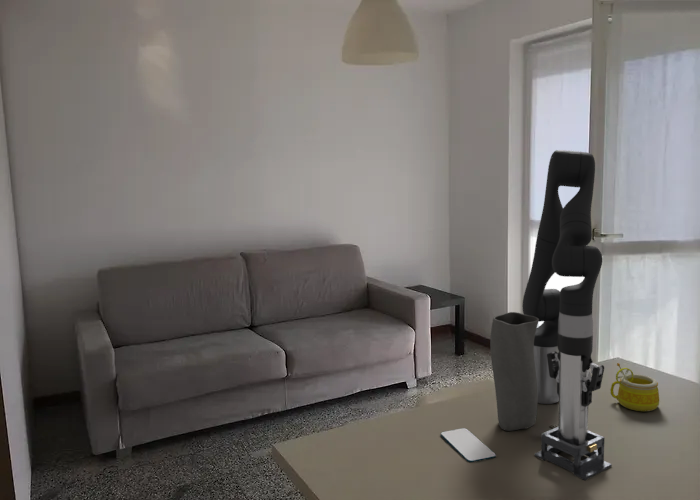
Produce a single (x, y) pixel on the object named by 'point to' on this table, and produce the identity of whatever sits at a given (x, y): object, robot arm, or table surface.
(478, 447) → the smartphone
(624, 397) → the mug
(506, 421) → the vase
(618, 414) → the table surface
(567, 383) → the silver metal cylinder
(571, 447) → the collar bracket
